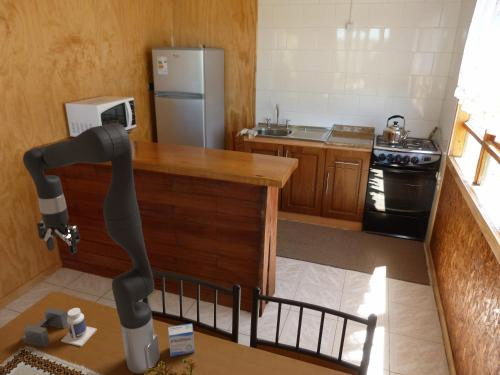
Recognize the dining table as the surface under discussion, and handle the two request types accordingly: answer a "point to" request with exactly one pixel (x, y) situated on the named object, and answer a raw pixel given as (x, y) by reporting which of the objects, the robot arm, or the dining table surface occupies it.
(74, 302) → the dining table surface
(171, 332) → the medicine box
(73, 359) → the dining table surface
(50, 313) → the dumbbell
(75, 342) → the mat
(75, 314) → the pill bottle
